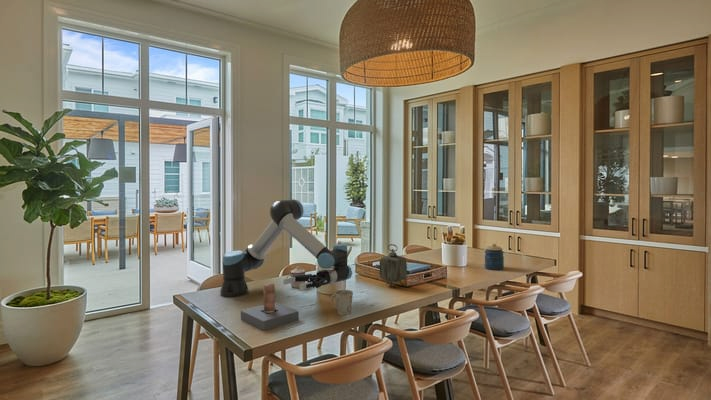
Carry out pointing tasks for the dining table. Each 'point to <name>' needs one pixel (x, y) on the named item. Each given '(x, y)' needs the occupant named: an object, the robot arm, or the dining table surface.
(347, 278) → the robot arm
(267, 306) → the peg
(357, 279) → the dining table surface
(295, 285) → the teacup with lid
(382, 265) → the tabletop clock
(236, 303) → the dining table surface
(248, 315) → the board
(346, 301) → the mug
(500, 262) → the canister
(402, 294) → the dining table surface
